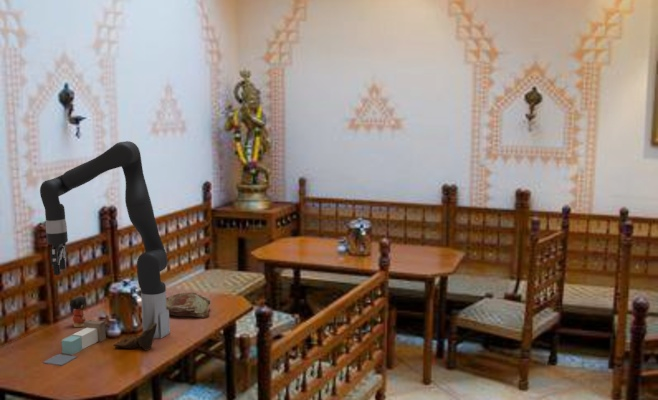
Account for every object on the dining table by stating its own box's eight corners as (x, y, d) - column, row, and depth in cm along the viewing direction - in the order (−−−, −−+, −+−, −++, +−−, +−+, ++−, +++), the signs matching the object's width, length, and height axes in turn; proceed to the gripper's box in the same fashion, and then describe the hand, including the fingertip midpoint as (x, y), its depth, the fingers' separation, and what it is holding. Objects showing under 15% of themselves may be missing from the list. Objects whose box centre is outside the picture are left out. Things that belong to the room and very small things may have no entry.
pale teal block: (81, 350, 262) (80, 337, 261) (72, 355, 257) (71, 341, 256) (71, 348, 263) (70, 335, 262) (62, 353, 258) (61, 340, 258)
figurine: (84, 328, 285) (82, 299, 283) (70, 328, 285) (68, 299, 283) (89, 323, 291) (87, 294, 289) (76, 323, 291) (74, 294, 290)
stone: (216, 300, 312) (214, 289, 310) (207, 318, 295) (205, 306, 293) (163, 302, 314) (161, 291, 312) (151, 320, 297) (149, 308, 295)
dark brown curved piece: (146, 323, 257) (115, 318, 264) (142, 352, 255) (111, 346, 262) (161, 323, 264) (131, 318, 271) (157, 351, 262) (127, 346, 269)
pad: (77, 357, 254) (77, 356, 254) (61, 365, 247) (61, 364, 247) (58, 354, 257) (58, 354, 257) (43, 362, 249) (42, 362, 249)
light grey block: (105, 339, 273) (104, 321, 272) (85, 349, 261) (84, 331, 260) (89, 336, 275) (88, 319, 274) (69, 347, 264) (67, 329, 263)
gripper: (62, 234, 268) (65, 276, 271) (71, 226, 282) (74, 267, 285) (41, 235, 268) (45, 277, 270) (51, 227, 282) (54, 268, 284)
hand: (60, 272), depth 277 cm, fingers open, 8 cm apart
